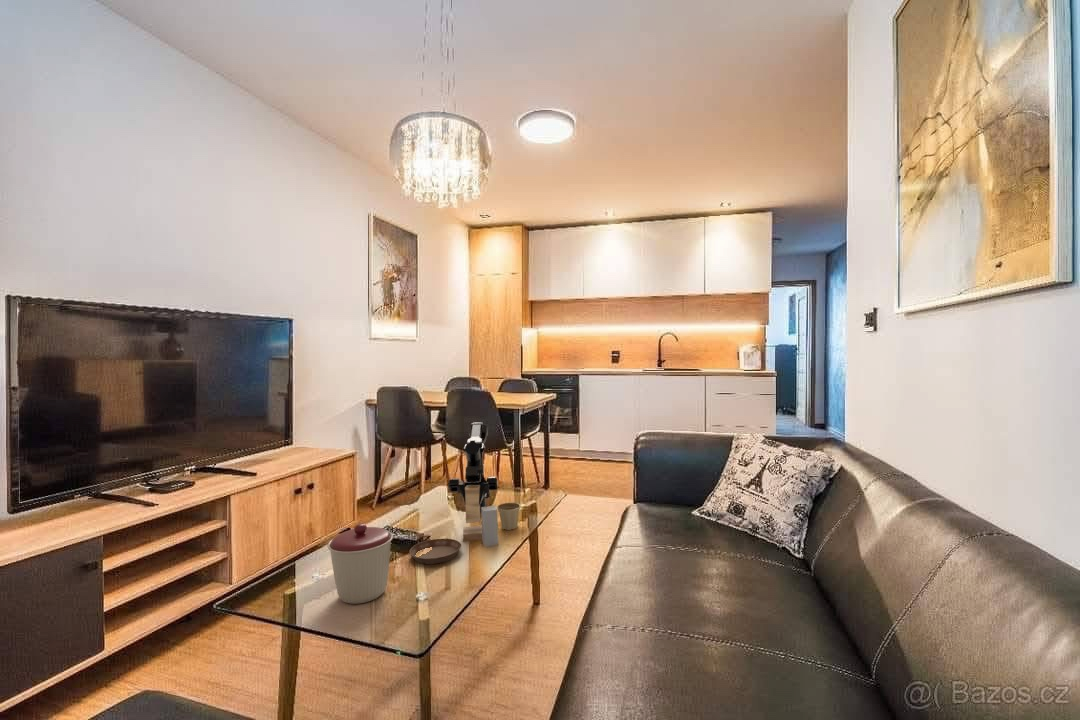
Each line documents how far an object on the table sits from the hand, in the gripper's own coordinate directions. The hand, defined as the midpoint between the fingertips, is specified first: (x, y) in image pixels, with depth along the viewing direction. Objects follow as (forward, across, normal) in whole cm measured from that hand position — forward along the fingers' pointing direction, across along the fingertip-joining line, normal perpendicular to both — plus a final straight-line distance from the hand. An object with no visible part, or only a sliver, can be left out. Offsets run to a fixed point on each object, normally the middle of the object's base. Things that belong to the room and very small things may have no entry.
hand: (472, 504), depth 187 cm
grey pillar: (+14, +7, +5) cm, 16 cm away
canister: (+38, -29, -20) cm, 52 cm away
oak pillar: (+4, 0, +6) cm, 7 cm away
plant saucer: (+20, -12, -1) cm, 23 cm away
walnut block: (+8, 0, +10) cm, 13 cm away
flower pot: (+3, +14, +16) cm, 21 cm away
